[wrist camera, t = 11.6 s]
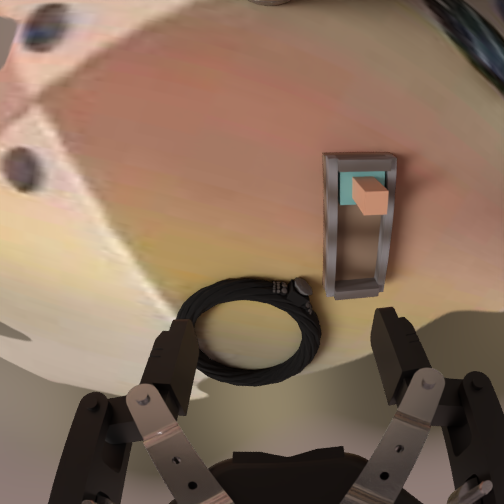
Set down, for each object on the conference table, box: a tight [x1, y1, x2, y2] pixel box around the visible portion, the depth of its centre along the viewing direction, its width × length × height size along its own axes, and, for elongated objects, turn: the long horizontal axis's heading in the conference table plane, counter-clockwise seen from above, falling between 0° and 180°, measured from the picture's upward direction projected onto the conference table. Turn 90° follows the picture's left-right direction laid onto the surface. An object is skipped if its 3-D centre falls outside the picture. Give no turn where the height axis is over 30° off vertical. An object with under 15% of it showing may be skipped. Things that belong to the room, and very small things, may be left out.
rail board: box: [322, 152, 397, 300], centre depth 44 cm, size 22×10×4 cm, turn 5°
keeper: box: [338, 171, 389, 215], centre depth 38 cm, size 5×6×8 cm
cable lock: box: [176, 278, 321, 386], centre depth 57 cm, size 28×4×30 cm
